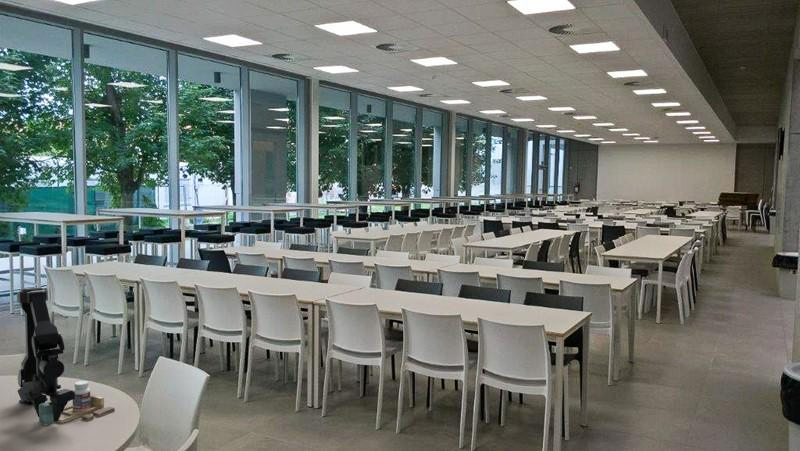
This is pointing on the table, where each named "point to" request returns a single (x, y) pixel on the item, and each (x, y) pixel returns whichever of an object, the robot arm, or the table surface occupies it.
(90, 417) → the broken walnut strip
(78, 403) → the pill bottle
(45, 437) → the table surface
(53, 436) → the table surface
